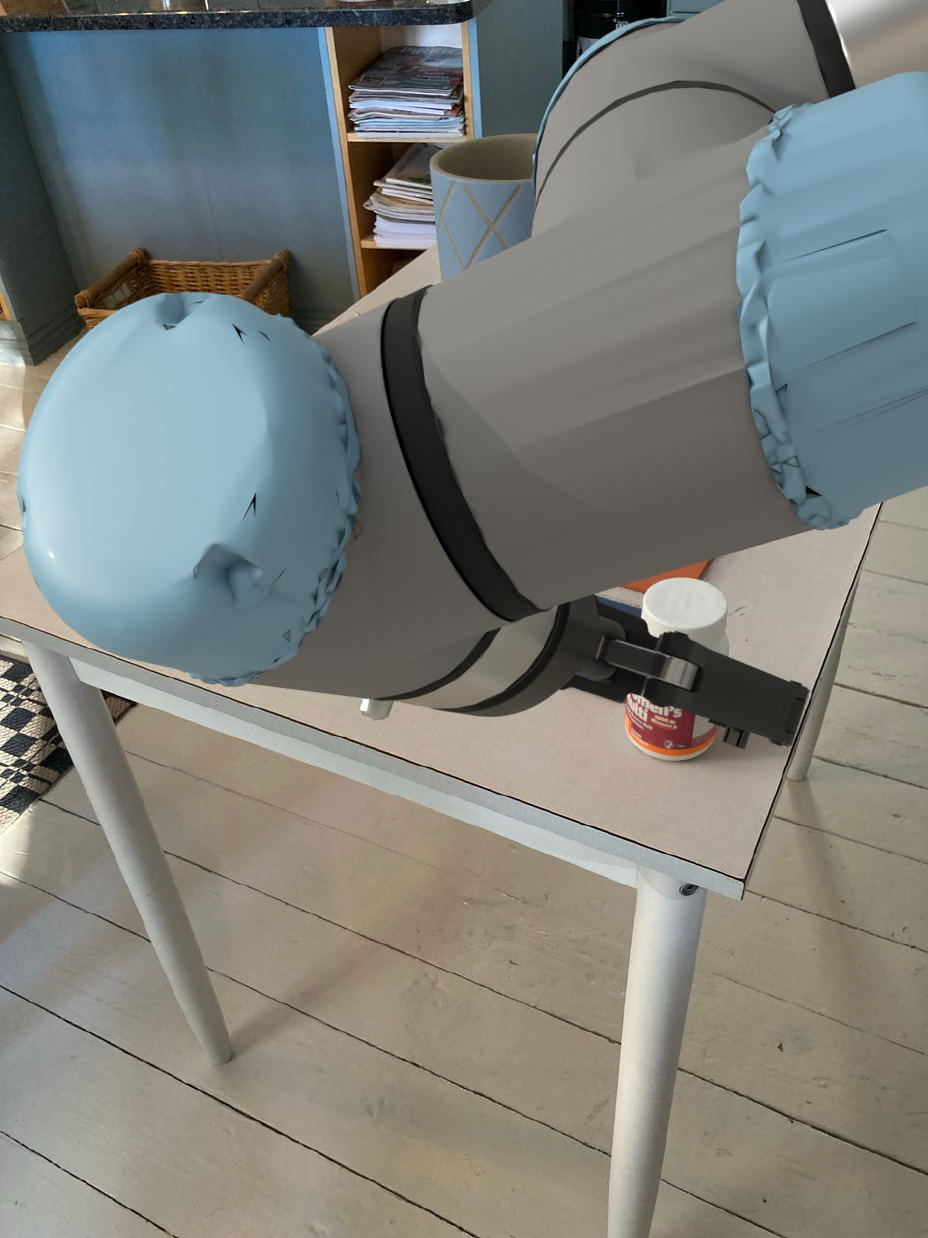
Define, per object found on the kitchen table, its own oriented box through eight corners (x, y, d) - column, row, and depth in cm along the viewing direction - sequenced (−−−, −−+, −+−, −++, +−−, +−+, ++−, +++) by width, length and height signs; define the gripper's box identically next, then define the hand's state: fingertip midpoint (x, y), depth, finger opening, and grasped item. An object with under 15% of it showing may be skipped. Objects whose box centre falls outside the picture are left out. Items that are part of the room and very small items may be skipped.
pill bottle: (607, 737, 68) (614, 608, 61) (654, 687, 71) (666, 560, 64) (686, 779, 65) (704, 647, 58) (732, 724, 68) (754, 594, 61)
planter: (417, 321, 125) (402, 150, 112) (551, 290, 130) (551, 124, 118) (483, 379, 111) (475, 193, 98) (630, 341, 117) (639, 160, 104)
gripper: (140, 600, 38) (394, 660, 57) (803, 850, 27) (839, 819, 47) (203, 412, 38) (436, 535, 57) (888, 590, 27) (889, 667, 47)
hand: (617, 663), depth 52 cm, fingers open, 13 cm apart
